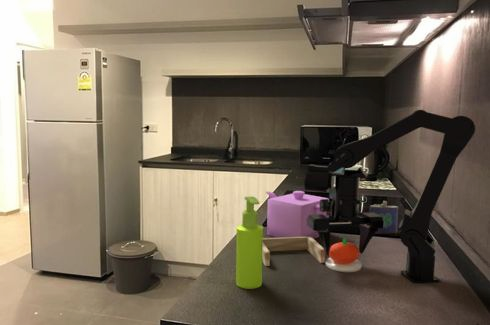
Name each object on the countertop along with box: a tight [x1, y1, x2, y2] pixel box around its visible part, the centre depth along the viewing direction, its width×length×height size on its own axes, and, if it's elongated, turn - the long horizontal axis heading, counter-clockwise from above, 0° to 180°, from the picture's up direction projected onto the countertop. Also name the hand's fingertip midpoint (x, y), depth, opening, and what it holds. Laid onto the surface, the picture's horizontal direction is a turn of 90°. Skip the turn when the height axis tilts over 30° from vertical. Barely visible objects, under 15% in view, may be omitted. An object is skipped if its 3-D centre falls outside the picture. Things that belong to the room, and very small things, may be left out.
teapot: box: [265, 190, 330, 240], centre depth 133 cm, size 15×25×14 cm, turn 47°
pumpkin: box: [328, 237, 360, 264], centre depth 106 cm, size 7×8×6 cm
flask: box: [368, 200, 399, 235], centre depth 136 cm, size 9×3×11 cm, turn 88°
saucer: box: [324, 257, 363, 273], centre depth 106 cm, size 9×9×1 cm
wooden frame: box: [262, 236, 326, 267], centre depth 112 cm, size 12×16×4 cm
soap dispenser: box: [235, 196, 264, 290], centre depth 93 cm, size 6×7×20 cm
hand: (343, 254), depth 106 cm, fingers open, 9 cm apart
